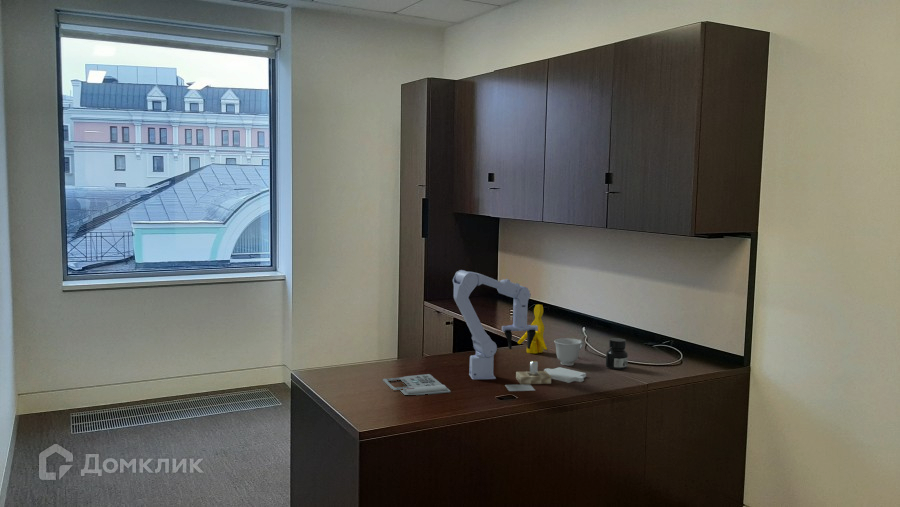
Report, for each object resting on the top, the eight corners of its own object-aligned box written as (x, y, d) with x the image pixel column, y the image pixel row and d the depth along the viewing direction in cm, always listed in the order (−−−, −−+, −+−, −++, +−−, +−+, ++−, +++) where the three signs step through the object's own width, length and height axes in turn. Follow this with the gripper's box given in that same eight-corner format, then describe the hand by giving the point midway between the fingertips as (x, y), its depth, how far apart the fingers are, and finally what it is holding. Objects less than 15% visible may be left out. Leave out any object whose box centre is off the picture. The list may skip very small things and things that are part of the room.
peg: (530, 382, 275) (530, 362, 274) (529, 380, 278) (529, 360, 277) (537, 383, 274) (538, 362, 274) (536, 380, 277) (537, 360, 277)
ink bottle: (618, 371, 293) (619, 343, 292) (600, 367, 300) (602, 339, 299) (631, 367, 300) (633, 340, 299) (614, 363, 306) (615, 336, 305)
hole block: (520, 384, 272) (520, 377, 271) (515, 379, 279) (516, 371, 279) (551, 384, 273) (551, 376, 273) (545, 378, 281) (545, 371, 281)
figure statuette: (514, 350, 328) (515, 303, 326) (525, 347, 333) (526, 301, 331) (543, 357, 315) (545, 308, 313) (555, 354, 320) (556, 306, 318)
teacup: (592, 364, 304) (592, 341, 303) (566, 369, 296) (567, 345, 295) (572, 358, 314) (573, 336, 313) (547, 362, 306) (548, 340, 305)
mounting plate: (591, 379, 283) (591, 374, 283) (573, 385, 273) (573, 380, 273) (554, 370, 295) (554, 365, 295) (535, 376, 286) (535, 371, 286)
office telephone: (451, 387, 260) (399, 392, 253) (451, 394, 261) (399, 399, 253) (429, 370, 282) (381, 374, 274) (429, 377, 282) (381, 381, 275)
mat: (509, 391, 262) (509, 391, 262) (504, 385, 270) (504, 384, 270) (535, 391, 264) (535, 390, 264) (529, 385, 272) (530, 384, 272)
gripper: (504, 317, 280) (503, 351, 282) (540, 317, 282) (539, 350, 284) (500, 314, 287) (500, 346, 289) (535, 313, 289) (534, 346, 291)
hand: (519, 348), depth 287 cm, fingers open, 7 cm apart
